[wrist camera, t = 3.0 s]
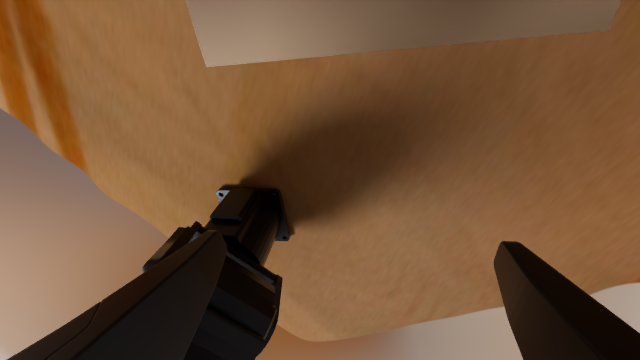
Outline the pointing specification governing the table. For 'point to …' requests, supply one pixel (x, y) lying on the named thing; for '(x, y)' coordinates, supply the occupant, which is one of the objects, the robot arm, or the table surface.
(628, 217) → the table surface
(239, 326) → the robot arm
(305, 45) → the walnut slab
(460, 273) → the table surface
